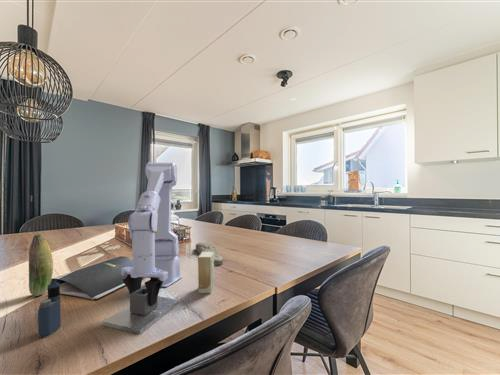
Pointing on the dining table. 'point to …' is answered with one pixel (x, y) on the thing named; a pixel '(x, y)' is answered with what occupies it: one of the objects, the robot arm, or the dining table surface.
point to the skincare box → (206, 272)
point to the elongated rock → (209, 248)
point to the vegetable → (39, 265)
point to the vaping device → (50, 311)
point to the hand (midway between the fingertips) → (144, 302)
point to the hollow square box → (141, 302)
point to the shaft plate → (140, 316)
